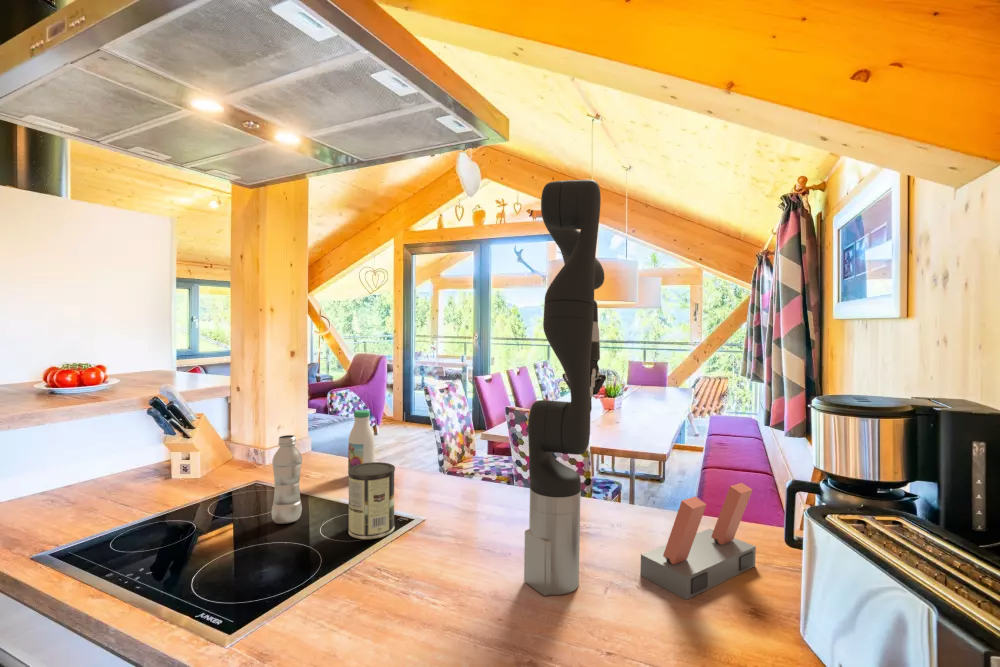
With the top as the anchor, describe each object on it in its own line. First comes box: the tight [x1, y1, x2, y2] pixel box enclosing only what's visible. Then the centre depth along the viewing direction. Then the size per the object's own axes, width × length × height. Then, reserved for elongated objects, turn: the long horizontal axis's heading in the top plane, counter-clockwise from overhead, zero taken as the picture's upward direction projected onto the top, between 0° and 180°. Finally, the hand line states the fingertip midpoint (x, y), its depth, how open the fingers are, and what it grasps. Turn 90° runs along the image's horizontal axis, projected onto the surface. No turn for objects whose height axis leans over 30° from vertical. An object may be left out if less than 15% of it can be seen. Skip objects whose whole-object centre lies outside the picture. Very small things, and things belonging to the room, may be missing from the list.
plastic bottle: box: [271, 434, 303, 525], centre depth 118 cm, size 6×7×20 cm
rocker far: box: [711, 482, 753, 545], centre depth 100 cm, size 4×2×12 cm, turn 124°
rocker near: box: [663, 496, 707, 565], centre depth 91 cm, size 4×3×12 cm, turn 124°
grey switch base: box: [640, 528, 757, 601], centre depth 97 cm, size 22×10×4 cm, turn 124°
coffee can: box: [347, 461, 396, 540], centre depth 114 cm, size 10×10×14 cm
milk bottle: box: [347, 409, 376, 477], centre depth 152 cm, size 8×8×20 cm
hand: (585, 413), depth 121 cm, fingers closed
